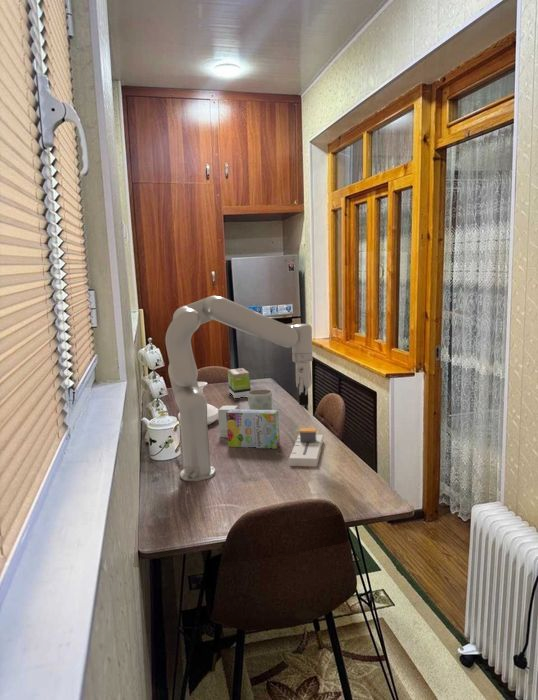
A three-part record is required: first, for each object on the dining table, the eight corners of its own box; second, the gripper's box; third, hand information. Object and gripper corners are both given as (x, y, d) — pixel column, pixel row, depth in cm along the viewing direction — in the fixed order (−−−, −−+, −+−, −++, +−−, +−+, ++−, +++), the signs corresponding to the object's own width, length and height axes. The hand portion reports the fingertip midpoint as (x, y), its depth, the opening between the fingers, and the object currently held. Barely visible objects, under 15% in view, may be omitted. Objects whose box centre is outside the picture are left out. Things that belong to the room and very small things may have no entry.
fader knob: (315, 442, 195) (315, 431, 194) (300, 442, 196) (299, 430, 196) (316, 438, 199) (316, 428, 198) (301, 438, 200) (300, 427, 199)
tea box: (228, 393, 295) (227, 369, 292) (245, 391, 298) (243, 367, 295) (234, 399, 281) (232, 373, 278) (251, 397, 284) (250, 371, 281)
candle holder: (181, 418, 250) (177, 381, 246) (220, 415, 251) (218, 378, 248) (176, 430, 230) (172, 390, 227) (219, 427, 231) (216, 387, 228)
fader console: (316, 466, 180) (316, 458, 179) (289, 465, 182) (289, 457, 181) (323, 441, 205) (322, 434, 204) (299, 441, 207) (298, 434, 206)
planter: (276, 413, 248) (275, 392, 246) (253, 417, 243) (252, 396, 242) (267, 408, 259) (266, 387, 258) (245, 411, 255) (244, 391, 253)
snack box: (280, 444, 204) (278, 409, 202) (277, 449, 199) (275, 413, 197) (232, 442, 210) (229, 408, 208) (227, 447, 205) (225, 412, 202)
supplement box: (235, 437, 216) (233, 409, 214) (219, 437, 217) (217, 409, 215) (240, 432, 223) (238, 405, 221) (224, 432, 224) (222, 405, 222)
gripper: (310, 360, 177) (311, 410, 180) (314, 353, 192) (315, 399, 194) (289, 360, 179) (291, 409, 181) (295, 353, 193) (296, 399, 196)
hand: (303, 404), depth 188 cm, fingers closed
